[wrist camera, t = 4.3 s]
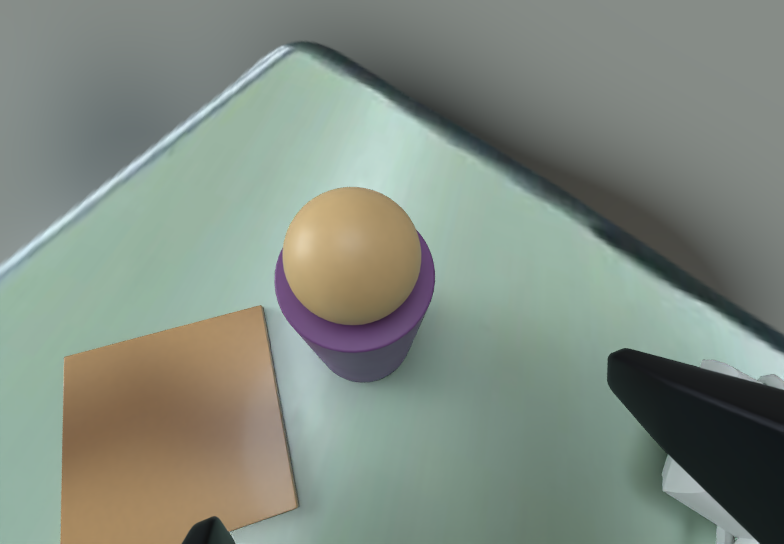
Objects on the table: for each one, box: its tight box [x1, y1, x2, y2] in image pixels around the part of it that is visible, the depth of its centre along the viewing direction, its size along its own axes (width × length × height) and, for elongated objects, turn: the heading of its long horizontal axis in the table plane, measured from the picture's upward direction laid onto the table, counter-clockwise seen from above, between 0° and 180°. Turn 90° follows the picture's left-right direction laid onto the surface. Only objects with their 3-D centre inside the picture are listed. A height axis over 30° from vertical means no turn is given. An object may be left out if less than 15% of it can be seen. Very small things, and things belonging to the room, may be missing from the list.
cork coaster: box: [60, 305, 299, 544], centre depth 18 cm, size 10×10×1 cm
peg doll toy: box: [275, 187, 435, 382], centre depth 15 cm, size 5×5×12 cm
